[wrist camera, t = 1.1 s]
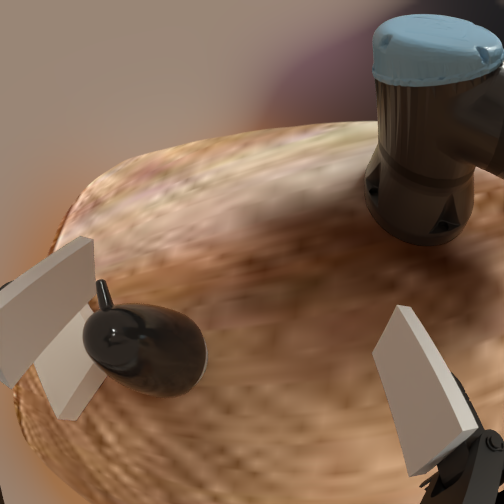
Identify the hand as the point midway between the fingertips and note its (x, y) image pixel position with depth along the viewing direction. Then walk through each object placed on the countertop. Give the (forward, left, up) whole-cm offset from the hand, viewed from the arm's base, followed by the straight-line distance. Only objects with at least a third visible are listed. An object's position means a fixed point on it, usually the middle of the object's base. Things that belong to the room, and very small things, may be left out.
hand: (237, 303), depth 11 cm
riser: (+25, -28, -20) cm, 42 cm away
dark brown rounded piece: (+10, -12, -21) cm, 26 cm away
